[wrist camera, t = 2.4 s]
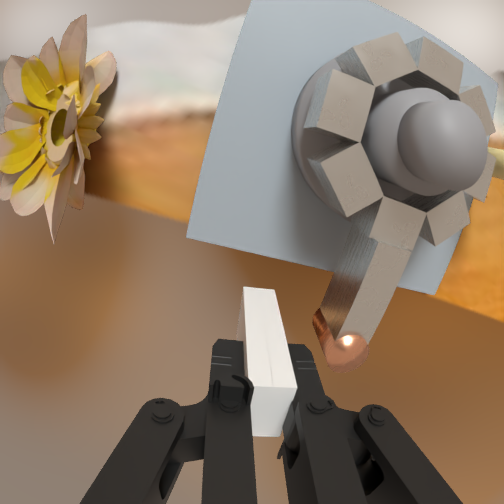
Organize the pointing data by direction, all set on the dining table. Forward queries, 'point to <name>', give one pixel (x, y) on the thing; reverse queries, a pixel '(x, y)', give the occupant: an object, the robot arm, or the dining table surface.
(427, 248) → the base
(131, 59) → the dining table surface
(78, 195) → the decorative flower
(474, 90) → the grey gear lever
